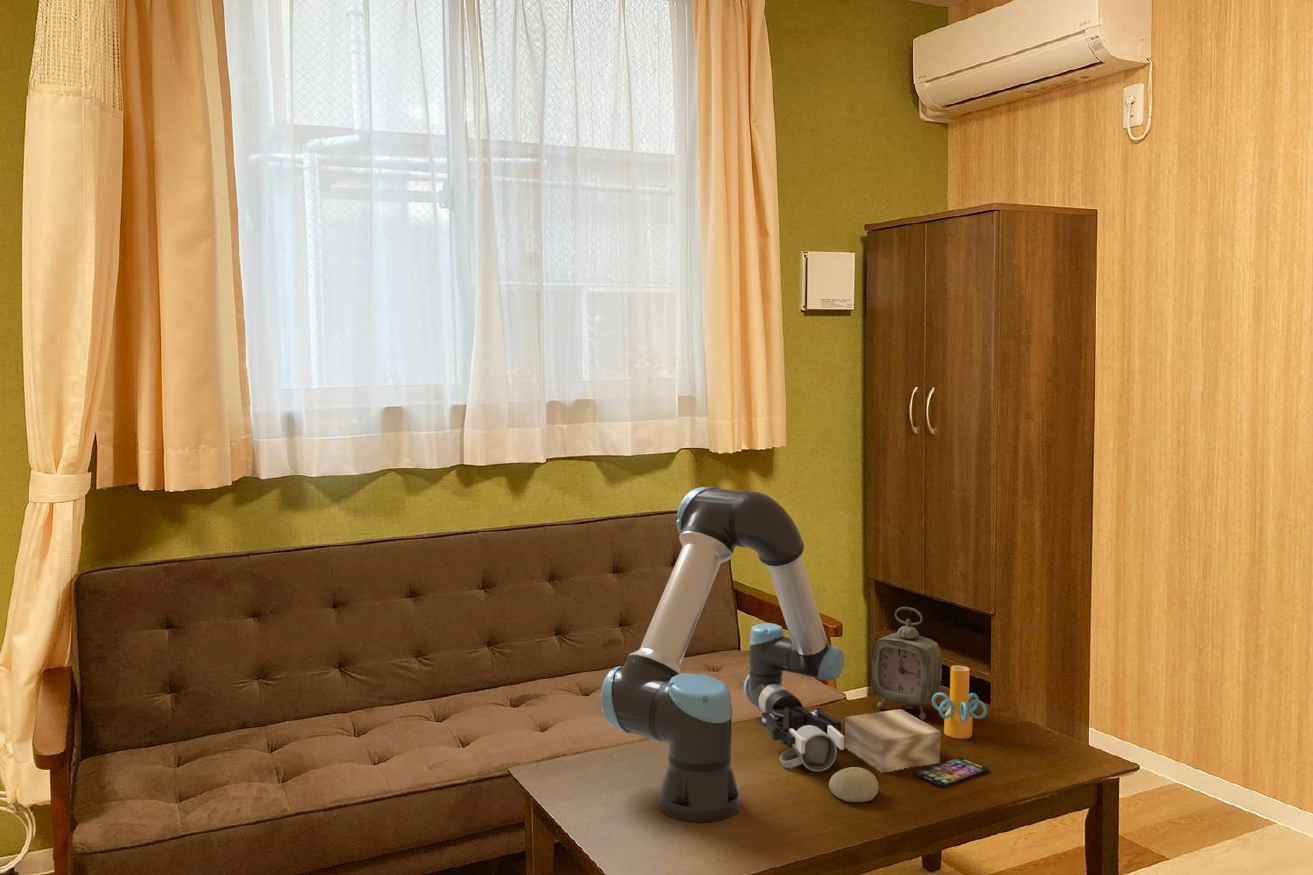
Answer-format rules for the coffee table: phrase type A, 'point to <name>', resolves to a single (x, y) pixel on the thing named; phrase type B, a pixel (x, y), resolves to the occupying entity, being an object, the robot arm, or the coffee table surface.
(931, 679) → the tabletop clock
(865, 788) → the sea urchin shell
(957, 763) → the smartphone
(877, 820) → the coffee table surface
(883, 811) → the coffee table surface
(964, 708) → the ring toss post
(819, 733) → the ceramic mug
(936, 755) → the birch block
